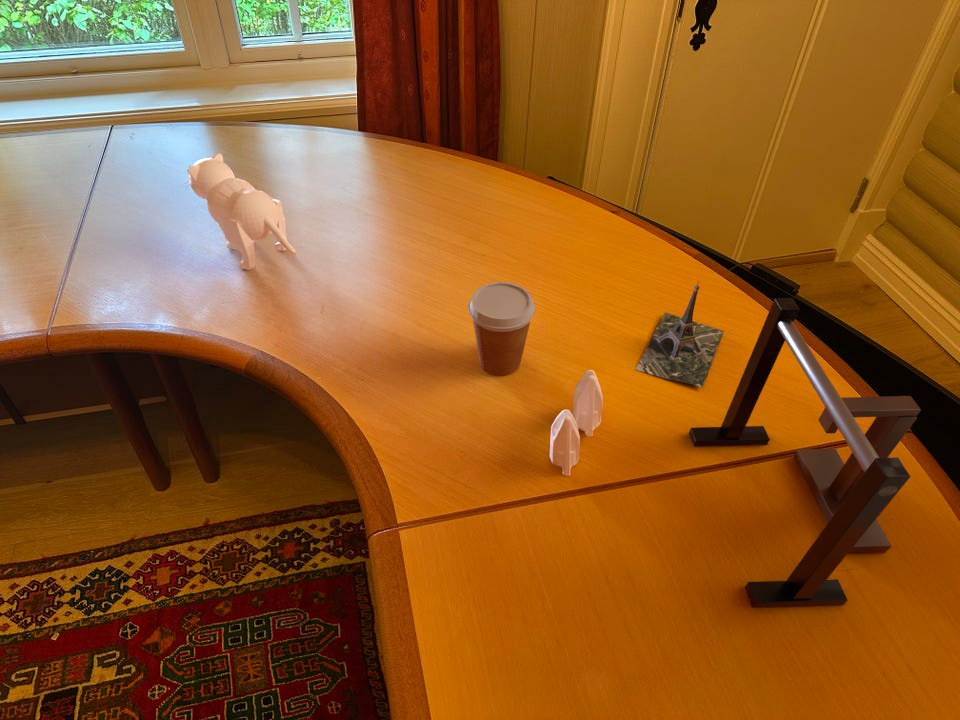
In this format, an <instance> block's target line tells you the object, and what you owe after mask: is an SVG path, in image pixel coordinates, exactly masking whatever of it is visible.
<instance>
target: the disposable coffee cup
mask: <svg viewBox="0 0 960 720" xmlns="http://www.w3.org/2000/svg"><path fill="white" fill-rule="evenodd" d="M535 303H536V302H535V301H534V299H533V296H532V294H531V293H530V292H529V291H528V289H526V288H524V287H523V286H522V285H519V284H516V283H513V282H507V281H496V282H495V281H494V282H490V283H487V284H484V285H482V286H480V287H479V288H477V289H476V290H475V291H474V293H473V294H472V297H471V298H470V300H469V302H468V305H467V306H468V313H469V315H470V317H471V319H472V323H473V330H474V334H475V340H476V341H475V343H476V348H477V353H478V354H477V355H478V359H479V365H480V368H481V369H482V370H483V371H484V372H485V373H487V374H490V375H492V376H498V377H504V376H509V375H512V374H513V373H515V372H517V371H518V370H519V369H520V367H521V363H522V358H523V354H524V350H525V346H526V341H527V339H528V338H527V337H528V333H529V329H530V324H531V321H532V319H533V317H534V315H535V314H536V304H535Z"/></svg>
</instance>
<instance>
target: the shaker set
mask: <svg viewBox="0 0 960 720" xmlns="http://www.w3.org/2000/svg"><path fill="white" fill-rule="evenodd" d="M603 403H604V396H603V392H602V388H601V384H600V382H599V379H598V377H597V375H596V372H595V371H594V370H593V369H588V370H586V371H585V372H584V373H583V374H582V375H581V377H580V378H579V379H578V381H577V383H576V384H575V387H574V392H573V401H572V412H571V410H569V409H563V410H562V411H560V412H559V413H558V415H557V416H556V418H555V419H554V421H553V423H552V424H551V426H550V438H549V440H550V442H549V455H548V456H549V459H550V461H551V464H552V465H555V466H557V467H560V468H561V469H562V473H561V474H562V475H563V476H565V477H567V476H568V477H570V476H571V470H572V467H574V466H575V465H577V464H578V463H579V460H580V447H581V437H580V432H579V430H580V431H583V432H584V434H585V435H586V436H587V437H593V436H594V431H595V429H597V428H598V427H599V426H600V425H601V422H602V412H603V405H604V404H603Z"/></svg>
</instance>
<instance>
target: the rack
mask: <svg viewBox="0 0 960 720" xmlns="http://www.w3.org/2000/svg"><path fill="white" fill-rule="evenodd" d="M799 312H800V308H799V306H798V305H797V303H796V301H795V300H794V298H793V297H786V298H785V297H781V298H779V297H778V298H776V297H775V298H774V299H773V302H772V304H771V307H770V308H769V310H768V314H767V315H766V318H765V320H764V323H763V325H762V328H761V329H760V330H761V331H760V332H759V334H758V337H757V340H756V342H755V344H754V347H753V349H752V351H751V354H750V357H749V359H748V361H747V364H746V366H745V368H744V371H743V373H742V375H741V378H740V380H739V382H738V385H737V388H736V390H735V392H734V394H733V397H732V399H731V402H730V404H729V407H728V409H727V411H726V414H725V417H724V418H723V421H722V423H721V426H698V427H697V426H695V427H690V429H689V432H688V435H689V438H690V440H691V443H692V446H693V447H694V448H697V447H735V446H736V447H739V446H740V447H741V446H768V444H769V442H770V441H771V439H770V437H769V435H768V432H767V430H766V428H765V426H764V425H747V424H748V422H749V420H750V419H751V415H752V413H753V411H754V409H755V406H756V405H757V403H758V401H759V399H760V397H761V394H762V392H763V390H764V387H765V385H766V383H767V381H768V379H769V377H770V375H771V372H772V371H773V368H774V365H775V363H776V362H777V360H778V357H779V355H780V352H781V350H782V348H783V346H784V344H785V343H786V344H787V346H788V348H789V349H790V351H791V352H792V355H793V356H794V357H795V359H796V361H797V362H798V364H799V366H800V367H801V369H802V371H803V373H804V374H805V376H806V377H807V380H808V381H809V382H810V384H811V386H812V387H813V389H814V391H815V393H816V394H817V396H818V397H819V399H820V401H821V403H822V404H823V406H824V408H825V407H826V409H827V411H828V412H829V414H830V416H831V417H832V419H833V421H834V422H835V424H836V426H837V427H838V429H837V430H838V431H839V432H840V434H841V435H842V436H841V437H842V438H843V439H844V441H845V442H846V444H847V446H848V447H849V449H850V450H851V453H853V454H854V456H855V457H856V459H857V461H858V462H859V464H860V466H861V467H862V469H863V471H864V472H865V473H864V474H863V475H862V477H861V478H860V480H859V481H858V482H857V484H856V485H855V487H854V488H853V489H852V491H851V492H850V493H849V495H848V496H847V498H846V499H845V500H844V502H843V503H842V504H841V506H840V507H839V509H838V510H837V511H836V513H835V514H834V515H833V517H832V518H831V520H830V521H829V522H828V523H827V524H826V525H825V526H824V528H823V529H822V531H820V533H819V535H818V536H817V538H816V539H815V541H813V543H812V545H810V547H809V549H808V550H807V551H806V553H805V554H804V556H803V557H802V558H801V560H800V561H799V563H798V564H797V565H796V566H795V568H794V569H793V571H792V572H791V573H790V575H789V576H788V578H787V579H786V580H768V581H766V580H765V581H764V580H763V581H748V582H747V583H746V584H745V586H744V589H745V591H746V594H747V597H748V600H749V602H750V606H751V608H754V609H755V608H756V609H757V608H760V609H761V608H788V607H789V608H793V607H795V608H796V607H823V606H826V607H827V606H829V607H830V606H845V604H846V603H847V602H848V601H849V599H848V597H847V595H846V593H845V591H844V589H843V587H842V585H841V583H840V580H839V579H837V578H836V579H835V578H834V579H829V577H830V576H831V575H832V573H833V572H834V571H836V569H837V567H838V566H839V565H840V564H841V563H842V561H843V560H844V559H845V558H846V557H847V555H849V554H848V553H849V551H850V550H851V549H852V548H853V547H854V545H855V544H856V543H857V542H858V540H859V539H860V538H861V537H862V536H863V534H864V533H865V532H866V531H867V529H868V528H869V527H870V526H871V525H872V523H873V522H874V521H875V520H876V519H878V518H879V516H880V515H881V514H882V512H883V511H884V510H885V509H886V508H887V507H888V505H889V504H890V503H891V502H892V501H893V499H894V498H895V497H896V496H897V494H898V493H899V492H900V490H901V489H902V488H903V487H904V485H905V484H907V482H908V481H909V480H910V479H911V474H910V473H909V471H908V470H907V469H906V467H905V465H904V464H903V463H902V461H901V460H900V458H899V457H888V458H879V457H878V455H877V453H876V452H875V450H874V449H873V447H872V446H871V444H870V442H869V441H868V439H867V438H866V436H865V432H864V431H863V430H862V428H861V426H860V425H859V424H858V422H857V421H856V419H855V417H853V416H852V414H851V413H850V411H849V409H848V408H847V406H846V405H845V403H844V402H843V400H842V398H843V397H841V395H840V394H839V392H838V390H837V389H836V387H835V386H834V384H833V382H832V381H831V380H830V378H829V376H828V375H827V373H826V372H825V370H824V369H823V367H822V366H821V364H820V362H819V360H818V359H817V357H816V356H815V355H814V353H813V350H811V349H810V346H809V345H808V343H807V342H806V341H805V338H804V337H803V336H802V334H801V332H800V331H799V329H798V327H797V326H796V325H795V320H796V318H797V315H798V313H799Z"/></svg>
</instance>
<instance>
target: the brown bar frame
mask: <svg viewBox="0 0 960 720" xmlns="http://www.w3.org/2000/svg"><path fill="white" fill-rule="evenodd" d="M841 398H842V400H843V402H844V403H845V405H846V406H847V408H848V409H849V411H850V413H851V414H852V416H853V417H854V418H874V420H873V421H872V422H871V424H870V426H869V427H868V428H867V430H866V432H864V435H865V436H866V438H867V439H868V441H869V442H870V444H871V446H872V447H873V449H874V450H875V452H876V453H877V455H878V457H879V458H889V456H890V455H891V454H892V453H893V451H894V450H895V448H896V447H897V446H898V444H899V443H900V442H901V441H902V439H903V438H904V437H905V435H906V434H907V432H908V431H909V430H910V428H911V427H912V426H913V424H914V423H915V421H917V418H918V417H917V416H918V415H919V414H920V412H921V410H922V409H921V408H920V407H919V405H918V404H917V403H916V401H915V400H914V399H913V397H912V396H911V395H899V396H898V395H897V396H896V395H895V396H851V397H849V396H847V397H844V396H843V397H841ZM817 420H818V422H819V424H820V425H821V427H822V429H823V430H824V432H825V434H828V435H829V434H836V433H837V431H838V430H839V429H838V427H837V426H836V424H835V422H834V421H833V419H832V417H831V416H830V414H829V412H828V411H827V409H826V407H825V406H824V409H823V410H822V412H821V414H820V415H819V417H818V419H817ZM793 458H794V460H795V462H796V464H797V467H798V468H799V470H800V473H801V475H802V476H803V478H804V481H805V482H806V484H807V486H808V488H809V490H810V493H811V494H812V495H813V498H814V500H815V501H816V504H817V506H818V508H819V509H820V511H821V512H820V513H822V515H823V518H824V519H825V521H826V523H827V524H828V522H829V521H830V520H831V518H832V517H833V515H834V514H835V513H836V511H837V510H838V509H839V507H840V506H841V504H842V503H843V502H844V500H845V499H846V498H847V496H848V495H849V493H850V492H851V491H852V489H853V488H854V487H855V485H856V484H857V482H858V481H859V480H860V478H861V477H862V475H863V474H864V473H865V472H864V471H863V469H862V467H861V466H860V464H859V462H858V461H857V459H856V457H855V456H854V454H853V452H851V454H850V455H849V457H848V458H847V460H846V462H845V463H844V461H843V459H842V458H841V456H840V454H839V451H838V450H837V449H836V448H810V449H809V448H807V449H805V448H804V449H803V448H802V449H797V450H796V451H795V454H794V456H793ZM891 547H892V544H891V542H890V540H889V539H888V537H887V535H886V533H885V532H884V530H883V528H882V526H881V524H880V523H879V521H878V518H876V520H875V521H874V522H873V523H872V525H871V526H870V527H869V528H868V529H867V531H866V532H865V533H864V534H863V536H862V537H861V538H860V539H859V540H858V542H857V543H856V544H855V545H854V547H853V548H852V549H851V550H850V551H849V553H848V554H847V555H851V554H852V555H857V554H885V553H887V552H888V551H889V550H890V549H891Z"/></svg>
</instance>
